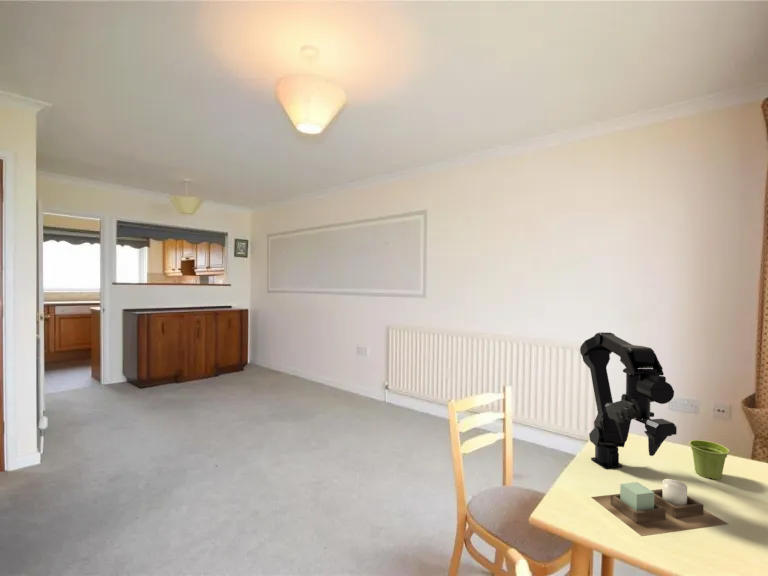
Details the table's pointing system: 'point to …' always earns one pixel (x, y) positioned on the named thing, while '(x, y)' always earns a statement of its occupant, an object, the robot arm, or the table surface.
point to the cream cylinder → (674, 492)
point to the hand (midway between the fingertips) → (637, 448)
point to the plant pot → (708, 458)
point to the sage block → (637, 496)
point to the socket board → (660, 515)
